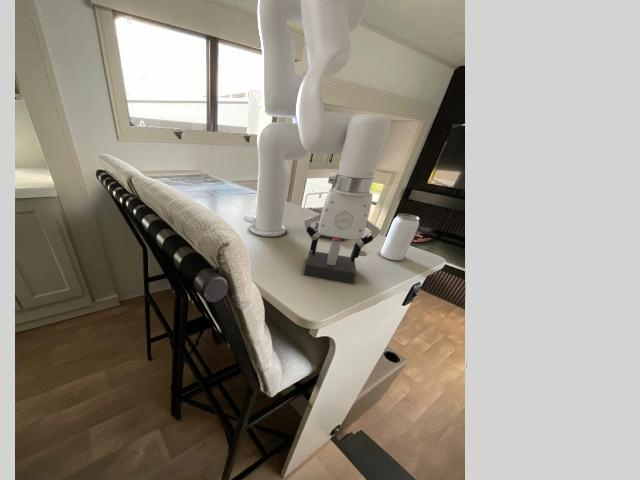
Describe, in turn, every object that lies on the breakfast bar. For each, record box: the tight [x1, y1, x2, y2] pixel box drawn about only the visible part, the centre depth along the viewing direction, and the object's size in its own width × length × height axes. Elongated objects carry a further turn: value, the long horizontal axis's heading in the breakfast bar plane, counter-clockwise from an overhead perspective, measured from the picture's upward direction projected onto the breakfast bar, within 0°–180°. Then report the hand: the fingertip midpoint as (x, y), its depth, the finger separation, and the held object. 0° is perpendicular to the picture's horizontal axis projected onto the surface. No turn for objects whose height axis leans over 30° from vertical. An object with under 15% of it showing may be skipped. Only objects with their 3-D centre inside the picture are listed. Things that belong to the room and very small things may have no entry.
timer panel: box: [303, 250, 357, 285], centre depth 66 cm, size 12×9×3 cm
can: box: [380, 213, 421, 262], centre depth 72 cm, size 6×6×12 cm
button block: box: [313, 222, 344, 242], centre depth 88 cm, size 10×8×4 cm
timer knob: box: [327, 238, 341, 266], centre depth 64 cm, size 5×2×5 cm, turn 162°
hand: (332, 256), depth 64 cm, fingers open, 9 cm apart
